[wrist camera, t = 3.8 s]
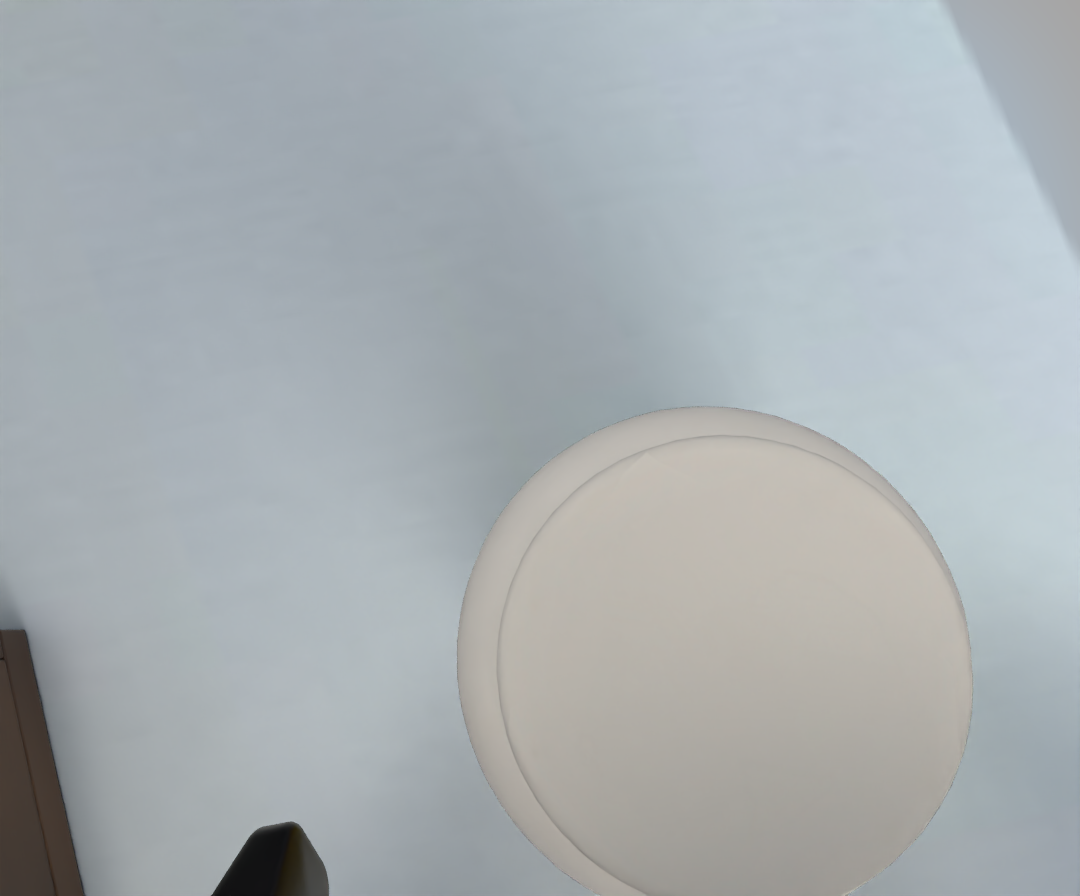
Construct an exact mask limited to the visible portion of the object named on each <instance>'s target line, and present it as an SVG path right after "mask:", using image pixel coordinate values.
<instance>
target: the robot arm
mask: <svg viewBox="0 0 1080 896" xmlns="http://www.w3.org/2000/svg"><path fill="white" fill-rule="evenodd" d="M211 896H329V884H328V877H327V872H326V869H325V866H324V864H323V862H322V860H321V859H320V857H319V855H318V854H317V852H316V851H315V849H314V847H313V846H312V844H311V842H310V841H309V839H308V837H307V836H306V834H305V832H304V831H303V829H302V828H301V827H300V825H299V824H297V823H295V822H285V823H280V824H275V825H270V826H264V827H261V828H259V829H257V830H256V831H255V832H254V833H253V834H252V835H251V836H250V837H249V838H248V840H247V841H246V843H245V845H244V846H243V848H242V849H241V851H240V852H239V854H238V855H237V857H236V858H235V860H234V862H233V863H232V865H231V866H230V868H229V869H228V871H227V872H226V874H225V875H224V877H223V879H222V880H221V882H220V883H219V885H218V886H217V888H216V889H215V891H214V892H213V894H212V895H211Z"/></svg>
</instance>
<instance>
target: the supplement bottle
mask: <svg viewBox="0 0 1080 896" xmlns="http://www.w3.org/2000/svg"><path fill="white" fill-rule="evenodd" d="M457 678H458V686H459V693H460V700H461V706H462V710H463V715H464V719H465V724H466V727H467V731H468V734H469V737H470V741H471V744H472V747H473V749H474V752H475V754H476V757H477V759H478V762H479V764H480V767H481V769H482V771H483V773H484V775H485V777H486V779H487V781H488V783H489V785H490V787H491V788H492V790H493V792H494V793H495V795H496V797H497V799H498V800H499V802H500V804H501V805H502V807H503V808H504V809H505V811H506V812H507V814H508V815H509V816H510V818H511V819H512V821H513V822H514V823H515V825H516V826H517V827H518V828H519V829H520V830H521V832H522V833H523V834H524V835H525V836H526V837H527V838H528V840H529V841H530V842H531V843H532V844H533V845H534V846H535V847H536V848H537V849H538V850H539V851H540V852H541V853H543V854H544V855H545V856H546V857H547V858H548V859H549V860H550V861H551V862H552V863H553V864H555V865H556V866H557V867H558V868H559V869H560V870H561V871H562V872H564V873H565V874H567V875H568V876H570V877H571V878H573V879H574V880H576V881H577V882H578V883H580V884H581V885H583V886H584V887H586V888H588V889H590V890H591V891H593V892H595V893H597V894H599V895H600V896H845V895H847V894H849V893H850V892H852V891H854V890H855V889H857V888H859V887H860V886H862V885H863V884H865V883H866V882H868V881H869V880H871V879H872V878H874V877H875V876H876V875H877V874H879V873H880V872H882V871H883V870H884V869H886V868H887V867H888V866H890V865H891V864H892V863H893V862H894V861H895V860H896V859H897V858H898V857H899V856H900V855H901V854H902V853H903V852H904V851H905V850H906V849H907V848H908V847H909V846H910V845H911V844H912V843H913V842H914V841H915V840H916V839H917V838H918V837H919V835H920V834H921V833H922V832H923V831H924V830H925V828H926V827H927V825H928V824H929V822H930V821H931V819H932V818H933V816H934V815H935V813H936V811H937V810H938V808H939V807H940V805H941V804H942V802H943V800H944V798H945V796H946V795H947V793H948V791H949V789H950V787H951V786H952V783H953V780H954V778H955V775H956V772H957V770H958V767H959V764H960V762H961V759H962V756H963V753H964V750H965V746H966V742H967V737H968V731H969V725H970V720H971V714H972V696H973V674H972V663H971V647H970V640H969V634H968V628H967V622H966V617H965V611H964V608H963V604H962V601H961V598H960V595H959V592H958V590H957V587H956V584H955V582H954V579H953V577H952V574H951V572H950V570H949V568H948V566H947V564H946V562H945V560H944V558H943V556H942V553H941V552H940V550H939V548H938V546H937V544H936V542H935V540H934V539H933V537H932V535H931V534H930V532H929V531H928V529H927V527H926V526H925V524H924V523H923V522H922V520H921V519H920V518H919V516H918V515H917V514H916V512H915V511H914V510H913V508H912V507H911V506H910V505H909V504H908V503H907V501H906V500H905V499H904V498H903V497H902V496H901V495H900V494H899V493H898V492H897V490H896V489H895V488H894V487H893V486H892V485H891V484H890V483H889V482H888V481H887V480H886V479H885V478H884V477H883V476H881V475H880V474H879V473H878V472H877V471H875V470H874V469H873V468H872V467H871V466H869V465H868V464H867V463H866V462H865V461H863V460H862V459H861V458H860V457H858V456H857V455H855V454H854V453H852V452H851V451H849V450H848V449H847V448H845V447H843V446H842V445H840V444H838V443H837V442H835V441H833V440H832V439H830V438H828V437H826V436H824V435H822V434H820V433H818V432H816V431H813V430H811V429H809V428H807V427H804V426H801V425H799V424H796V423H794V422H791V421H788V420H785V419H782V418H780V417H777V416H773V415H769V414H764V413H760V412H756V411H750V410H744V409H738V408H728V407H681V408H675V409H667V410H659V411H654V412H650V413H646V414H642V415H639V416H635V417H632V418H629V419H626V420H623V421H620V422H618V423H615V424H613V425H610V426H608V427H605V428H603V429H601V430H598V431H596V432H594V433H592V434H590V435H588V436H587V437H585V438H583V439H581V440H580V441H578V442H576V443H575V444H573V445H571V446H570V447H568V448H567V449H565V450H564V451H562V452H561V453H560V454H558V455H557V456H555V457H554V458H552V459H551V460H550V461H549V462H548V463H546V464H545V465H544V466H543V467H542V468H541V469H540V470H538V471H537V472H536V473H535V474H534V475H533V476H532V477H531V478H530V479H529V480H528V481H527V482H526V483H525V484H524V485H523V486H522V488H521V489H520V490H519V491H518V492H517V493H516V494H515V496H514V497H513V498H512V499H511V501H510V502H509V503H508V505H507V506H506V507H505V508H504V510H503V511H502V512H501V514H500V515H499V517H498V519H497V520H496V522H495V523H494V525H493V527H492V528H491V530H490V532H489V534H488V535H487V537H486V539H485V541H484V543H483V546H482V548H481V550H480V552H479V555H478V557H477V559H476V562H475V564H474V567H473V569H472V572H471V575H470V578H469V581H468V584H467V588H466V591H465V595H464V598H463V604H462V610H461V615H460V621H459V630H458V639H457Z"/></svg>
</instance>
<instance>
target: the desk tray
mask: <svg viewBox="0 0 1080 896" xmlns="http://www.w3.org/2000/svg"><path fill="white" fill-rule="evenodd" d="M0 896H84V894H83V890H82V886H81V881H80V877H79V872H78V868H77V863H76V859H75V854H74V850H73V845H72V841H71V836H70V832H69V827H68V823H67V818H66V814H65V809H64V805H63V800H62V796H61V791H60V787H59V783H58V778H57V774H56V769H55V765H54V760H53V756H52V751H51V747H50V742H49V738H48V733H47V729H46V724H45V720H44V715H43V711H42V706H41V702H40V697H39V693H38V688H37V684H36V679H35V675H34V671H33V666H32V662H31V657H30V653H29V648H28V644H27V639H26V635H25V631H24V630H0Z"/></svg>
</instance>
